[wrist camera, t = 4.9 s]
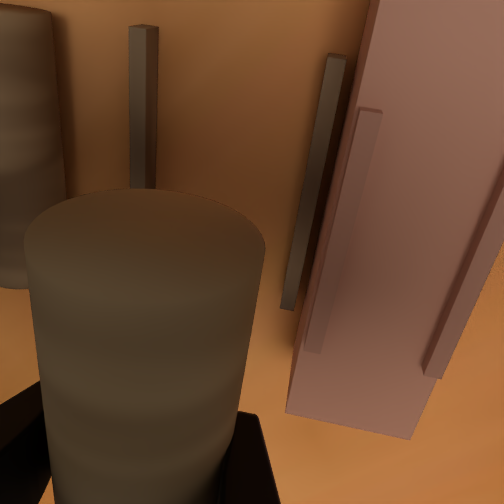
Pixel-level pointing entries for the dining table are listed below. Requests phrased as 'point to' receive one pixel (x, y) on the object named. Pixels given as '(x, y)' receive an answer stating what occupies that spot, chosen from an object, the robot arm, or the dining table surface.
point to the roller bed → (141, 135)
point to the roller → (141, 341)
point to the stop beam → (405, 215)
